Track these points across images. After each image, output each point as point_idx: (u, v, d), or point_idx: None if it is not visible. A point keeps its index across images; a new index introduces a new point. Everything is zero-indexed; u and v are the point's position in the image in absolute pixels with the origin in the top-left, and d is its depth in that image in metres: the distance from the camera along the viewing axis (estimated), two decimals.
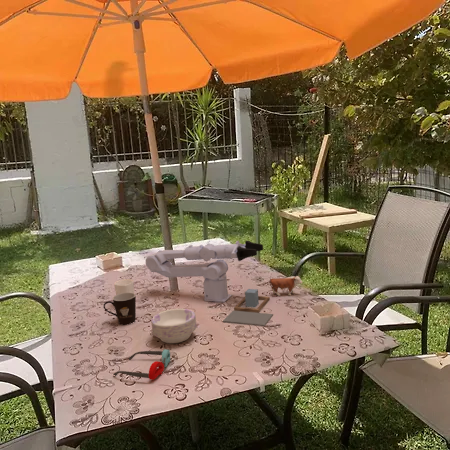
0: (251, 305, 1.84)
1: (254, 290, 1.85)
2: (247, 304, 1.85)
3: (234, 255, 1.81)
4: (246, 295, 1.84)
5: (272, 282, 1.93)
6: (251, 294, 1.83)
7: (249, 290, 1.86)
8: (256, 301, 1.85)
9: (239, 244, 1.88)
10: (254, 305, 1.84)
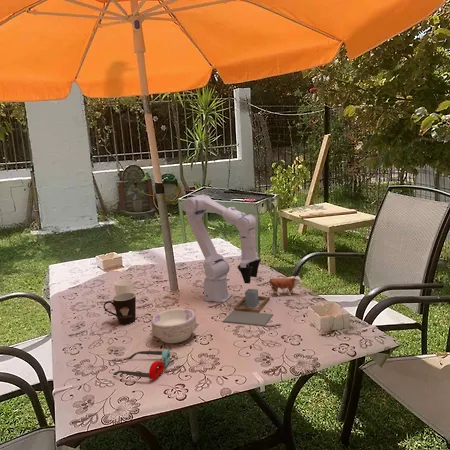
0: (251, 305, 1.84)
1: (254, 290, 1.85)
2: (247, 304, 1.85)
3: (243, 266, 1.76)
4: (246, 295, 1.84)
5: (272, 282, 1.93)
6: (250, 294, 1.83)
7: (249, 290, 1.86)
8: (256, 301, 1.85)
9: None
10: (254, 305, 1.84)
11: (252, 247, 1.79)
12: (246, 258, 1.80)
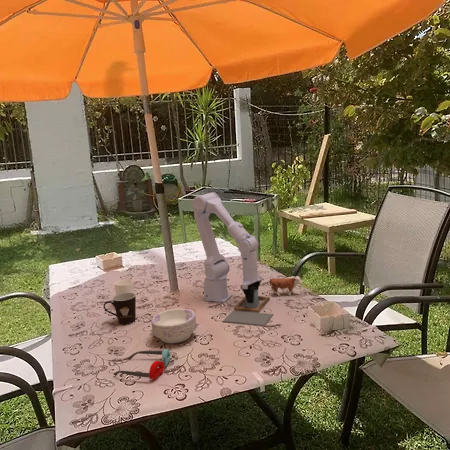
0: (251, 305, 1.84)
1: (254, 290, 1.85)
2: (247, 304, 1.85)
3: (244, 287, 1.78)
4: None
5: (272, 282, 1.93)
6: None
7: None
8: (256, 301, 1.85)
9: None
10: (254, 305, 1.84)
11: (253, 268, 1.81)
12: (247, 279, 1.82)
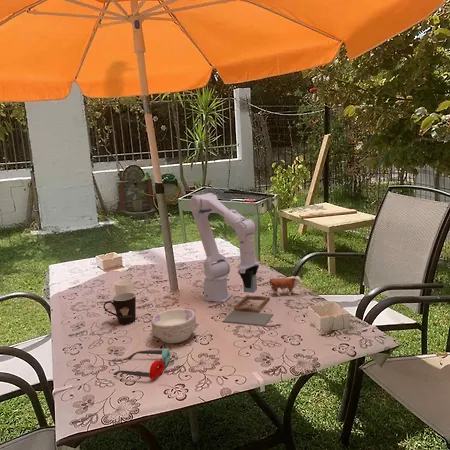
0: (249, 290, 1.79)
1: (252, 275, 1.80)
2: (245, 289, 1.80)
3: (242, 271, 1.73)
4: None
5: (272, 282, 1.93)
6: None
7: None
8: (254, 286, 1.80)
9: None
10: (252, 290, 1.79)
11: (251, 252, 1.76)
12: (245, 263, 1.76)
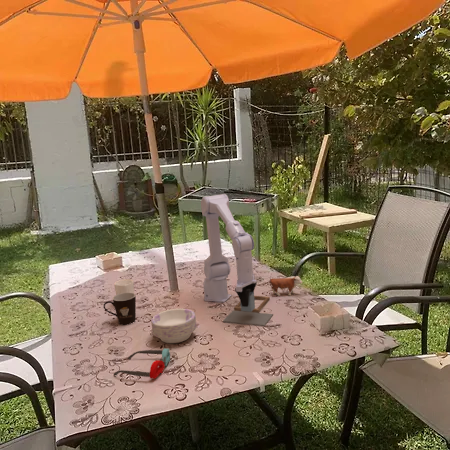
0: (247, 309, 1.71)
1: (250, 293, 1.72)
2: (242, 308, 1.71)
3: (238, 290, 1.64)
4: None
5: (272, 282, 1.93)
6: None
7: None
8: (252, 305, 1.71)
9: None
10: (250, 309, 1.70)
11: (248, 269, 1.67)
12: (242, 281, 1.68)
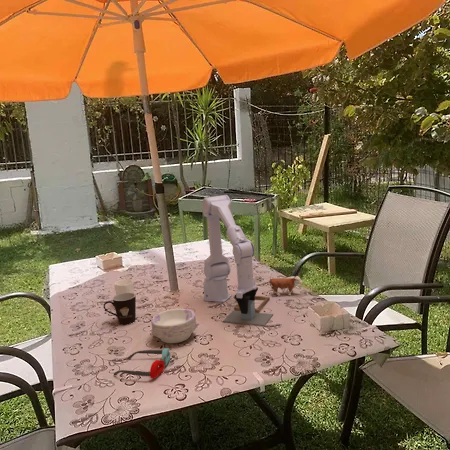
0: (247, 317, 1.71)
1: (250, 301, 1.72)
2: (243, 316, 1.72)
3: (239, 296, 1.65)
4: None
5: (272, 282, 1.93)
6: None
7: None
8: (252, 313, 1.72)
9: None
10: (250, 317, 1.71)
11: (249, 276, 1.68)
12: (243, 287, 1.69)
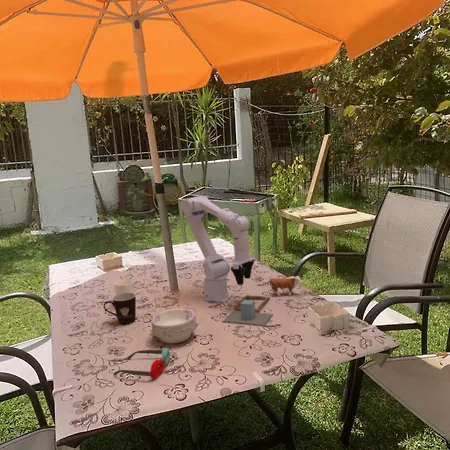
0: (247, 317, 1.71)
1: (250, 301, 1.72)
2: (243, 316, 1.72)
3: (235, 267, 1.76)
4: (242, 307, 1.71)
5: (272, 282, 1.93)
6: (246, 305, 1.70)
7: (245, 301, 1.73)
8: (252, 313, 1.72)
9: None
10: (250, 317, 1.71)
11: (245, 248, 1.79)
12: (239, 259, 1.80)
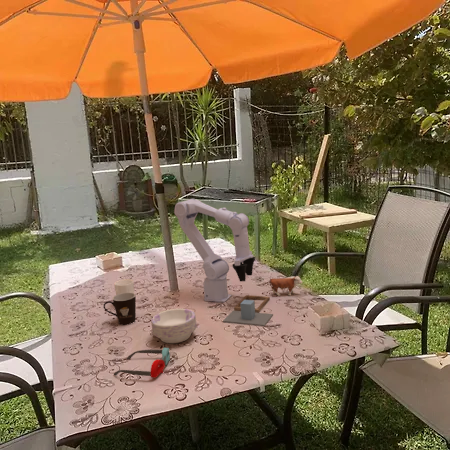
0: (247, 317, 1.71)
1: (250, 301, 1.72)
2: (243, 316, 1.72)
3: (237, 264, 1.79)
4: (242, 307, 1.71)
5: (272, 282, 1.93)
6: (246, 305, 1.70)
7: (245, 301, 1.73)
8: (252, 313, 1.72)
9: None
10: (250, 317, 1.71)
11: (245, 245, 1.82)
12: (240, 256, 1.83)
